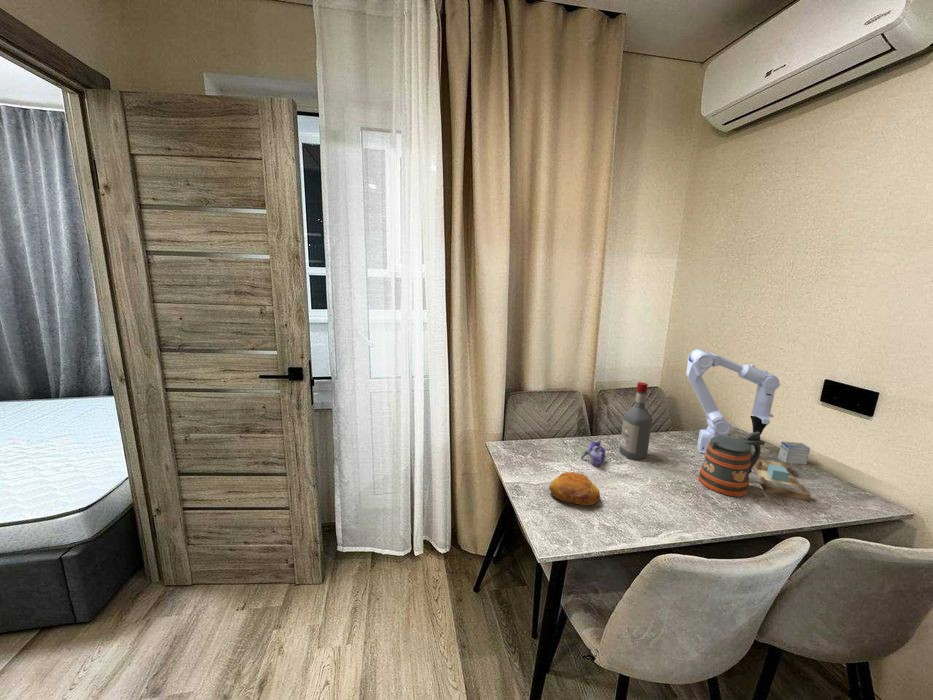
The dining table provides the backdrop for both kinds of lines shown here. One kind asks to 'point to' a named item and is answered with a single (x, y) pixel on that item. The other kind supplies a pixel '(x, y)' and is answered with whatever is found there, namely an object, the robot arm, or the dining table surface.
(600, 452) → the flower
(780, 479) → the block
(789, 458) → the medicine box
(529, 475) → the dining table surface
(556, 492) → the bread loaf
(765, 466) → the deck
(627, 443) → the liquor
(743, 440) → the beer stein
